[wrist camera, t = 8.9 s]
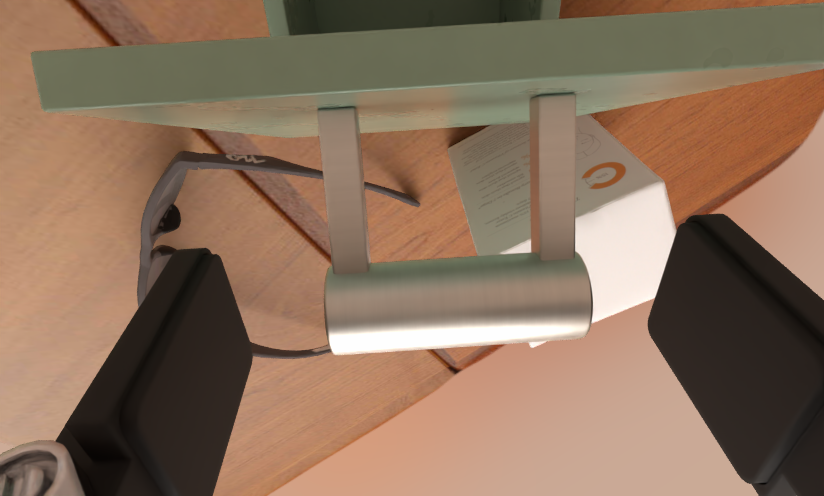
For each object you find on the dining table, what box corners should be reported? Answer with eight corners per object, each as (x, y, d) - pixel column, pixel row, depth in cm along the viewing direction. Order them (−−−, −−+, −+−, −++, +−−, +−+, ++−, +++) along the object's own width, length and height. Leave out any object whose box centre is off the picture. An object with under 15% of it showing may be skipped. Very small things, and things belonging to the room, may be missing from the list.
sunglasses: (167, 105, 29) (142, 138, 25) (422, 172, 34) (435, 208, 30) (151, 304, 37) (130, 352, 33) (358, 333, 42) (361, 378, 38)
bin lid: (27, 50, 6) (107, 426, 8) (880, -3, 6) (833, 376, 8) (284, 119, 20) (299, 246, 22) (552, 101, 21) (552, 229, 22)
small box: (484, 219, 34) (528, 352, 24) (444, 147, 31) (475, 263, 20) (592, 167, 32) (694, 286, 22) (562, 84, 29) (665, 176, 18)
